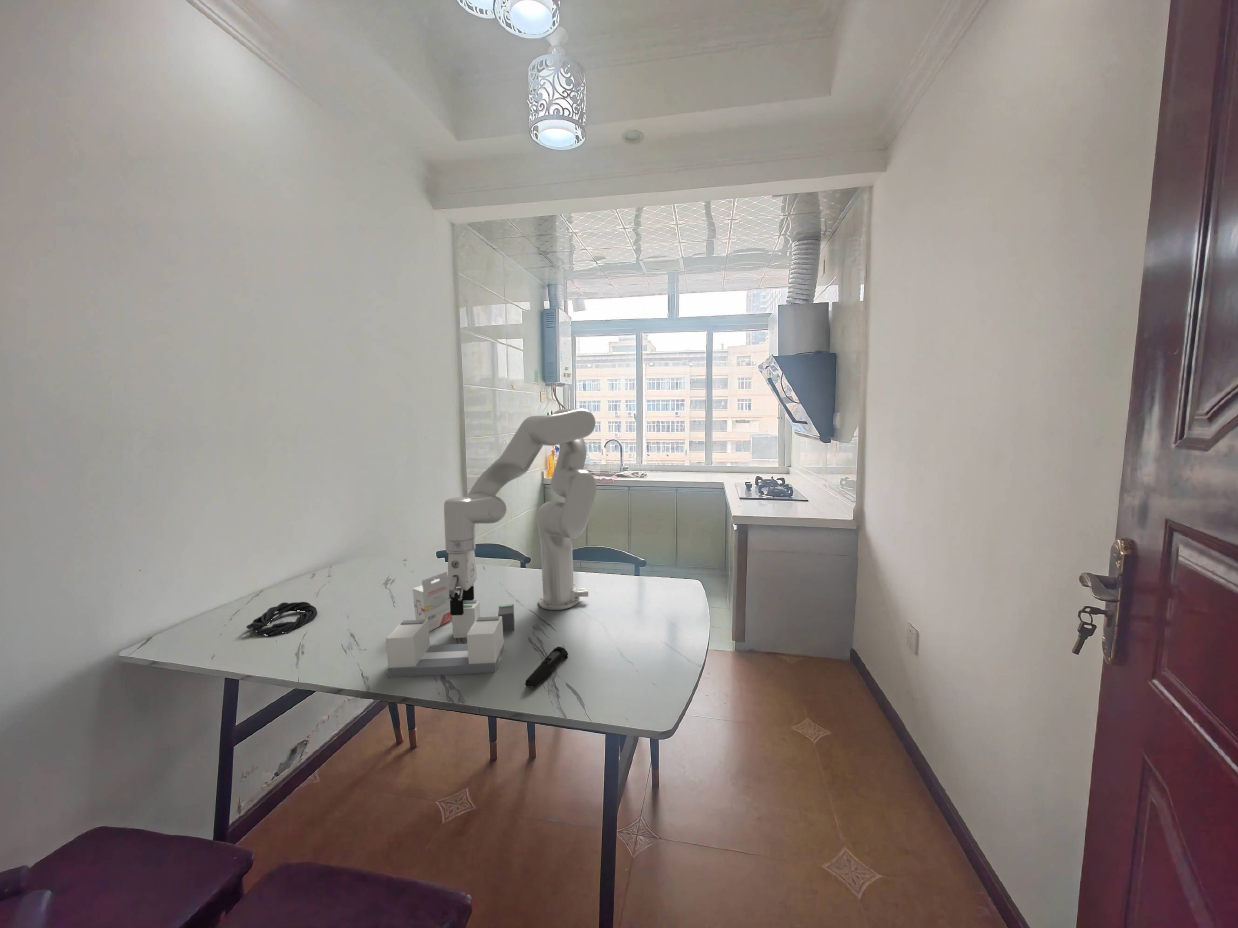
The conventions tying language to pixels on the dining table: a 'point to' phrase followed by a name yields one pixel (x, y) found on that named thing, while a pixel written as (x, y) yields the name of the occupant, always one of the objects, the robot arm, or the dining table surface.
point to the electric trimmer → (546, 667)
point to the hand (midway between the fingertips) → (462, 607)
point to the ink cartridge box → (433, 601)
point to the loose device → (507, 616)
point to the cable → (263, 620)
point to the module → (465, 618)
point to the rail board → (444, 650)
